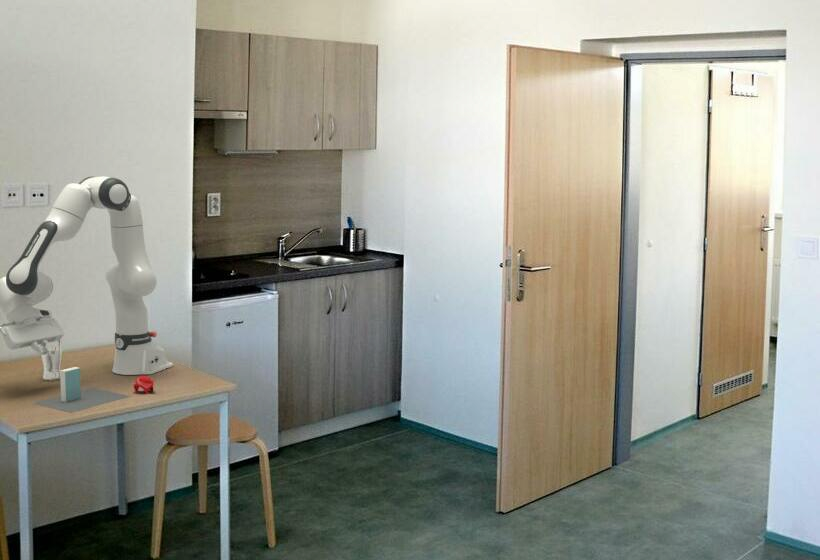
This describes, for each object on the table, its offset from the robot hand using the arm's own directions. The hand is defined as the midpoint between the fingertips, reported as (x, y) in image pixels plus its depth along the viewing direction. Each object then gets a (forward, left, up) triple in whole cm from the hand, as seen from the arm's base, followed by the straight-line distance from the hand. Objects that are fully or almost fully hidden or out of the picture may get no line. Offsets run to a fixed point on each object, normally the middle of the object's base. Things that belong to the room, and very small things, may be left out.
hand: (45, 353), depth 334 cm
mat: (-2, +15, -14) cm, 21 cm away
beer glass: (-16, -17, -14) cm, 28 cm away
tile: (0, +12, -13) cm, 18 cm away
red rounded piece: (-21, +23, -14) cm, 34 cm away
